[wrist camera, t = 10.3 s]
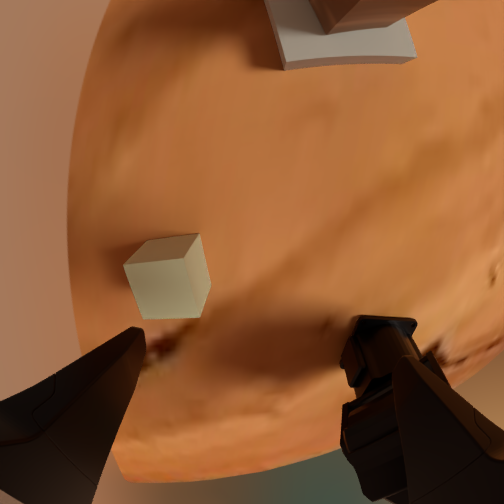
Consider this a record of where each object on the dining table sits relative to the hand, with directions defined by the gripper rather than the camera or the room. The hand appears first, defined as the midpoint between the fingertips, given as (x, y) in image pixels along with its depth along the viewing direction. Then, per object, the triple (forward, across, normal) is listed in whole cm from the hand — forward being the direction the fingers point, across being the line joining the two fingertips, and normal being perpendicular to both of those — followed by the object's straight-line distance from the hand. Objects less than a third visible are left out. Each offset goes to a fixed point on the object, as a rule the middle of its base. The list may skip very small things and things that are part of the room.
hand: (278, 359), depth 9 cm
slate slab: (+14, -2, -17) cm, 22 cm away
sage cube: (+13, +7, +4) cm, 15 cm away
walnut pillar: (+10, -2, -17) cm, 20 cm away
